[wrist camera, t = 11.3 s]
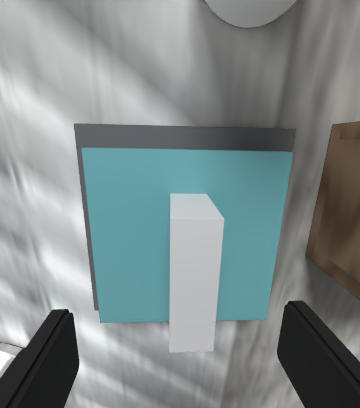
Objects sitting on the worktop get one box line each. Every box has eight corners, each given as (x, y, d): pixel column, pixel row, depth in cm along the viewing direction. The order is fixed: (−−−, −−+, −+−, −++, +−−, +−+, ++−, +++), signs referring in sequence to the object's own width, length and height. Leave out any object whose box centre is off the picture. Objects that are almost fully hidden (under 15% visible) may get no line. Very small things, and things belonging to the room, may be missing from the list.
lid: (252, 295, 21) (300, 384, 13) (110, 296, 20) (73, 392, 12) (272, 150, 17) (357, 157, 9) (97, 146, 16) (31, 151, 9)
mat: (263, 302, 22) (266, 307, 21) (97, 304, 21) (94, 310, 20) (290, 129, 17) (295, 129, 16) (78, 124, 16) (73, 123, 16)
